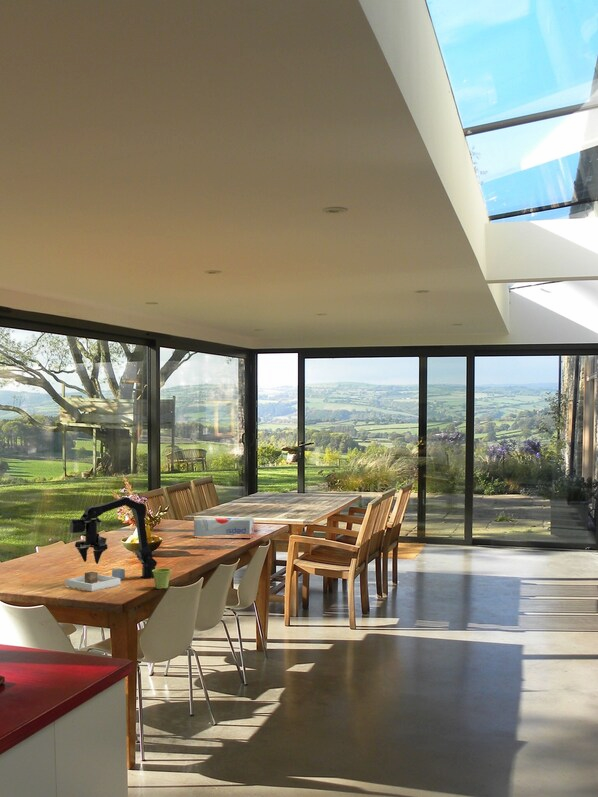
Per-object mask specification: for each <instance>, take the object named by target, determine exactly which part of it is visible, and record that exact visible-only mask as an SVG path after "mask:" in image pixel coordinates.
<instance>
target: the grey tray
mask: <svg viewBox="0 0 598 797" xmlns="http://www.w3.org/2000/svg"><path fill="white" fill-rule="evenodd" d="M64 581H65V585H64V586H69V587H68V588H70V587H74V588H73V589H75V588H79V589H78V590H80V589H84V590H83V591H85V590H88V591H87V592H90V591H93V592H97V591H101V590H100V589H102V590H105V588H106V589H110V588H109V587H111V588H114V586H115V587H119V586H121V580H120V578H116V577H112V576H109V575H103V574H98V582H97V583H93V584H90V583H85V575H81V576H77V577H72V578H68V579H65V580H64ZM96 590H97V591H96Z"/></svg>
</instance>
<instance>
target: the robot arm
mask: <svg viewBox="0 0 598 797" xmlns="http://www.w3.org/2000/svg"><path fill="white" fill-rule="evenodd" d="M123 506H125V507H127V508H128V509H130V510H131V512H132V515H133V518H134V519H135V523H136V524H135V525H136V530H137V539H138V549H137V550H135V553H136V558H137V559H138V561H139V562H140V563H141V565H142V571H141V574H142V575H141V576H139V578H142V577H143V579H148V578H149V579H154V578H153V577H154V575H153V572H152V570H154V569H156V567H157V564H158V562H157V560H155V558H154V557H153V554H152V550H151V548H150V547H149V542H148V535H147V528H146V521H145V519H146V514H147V506H146V505H145V504H144V503H143V502H139V501H135V500H132V499H130V498H129V497H127V496H122V497H120V498H117V499H114V500H112V501H109V502H106V503H103V504H99V505H98V504H97V505H96V504H95V505H90V506H87V507H86V508H85V509H84V511H83V514H82V515H81V517H80V518H79V519H71V520H70V524H69V532H70V533H71V534H79V533H83V537H85V538H84V540H78V541H76V542H75V543H74V547H75V548H76V550H77V551H78V552H79V554H80V556H81V558H82V560H83V562H84V563H86V562H87V560H88V551H89V548H91V549H93V551H92V552H93V556H94V562H95V564H99V562H100V559H101V556H102V554H103V553H104V552H105V551H107V550H108V548H109V547H108V544H107V543H106V542H107V540H108V539H107V537H103V536H100V534H99V533H100V532H99V533H98V523H102V520H100V518H99V517H100V516H102V515H103V514H104V513H106V512H110V511H113V510H115V509H118V508H121V507H123ZM84 532H85V533H84Z"/></svg>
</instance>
